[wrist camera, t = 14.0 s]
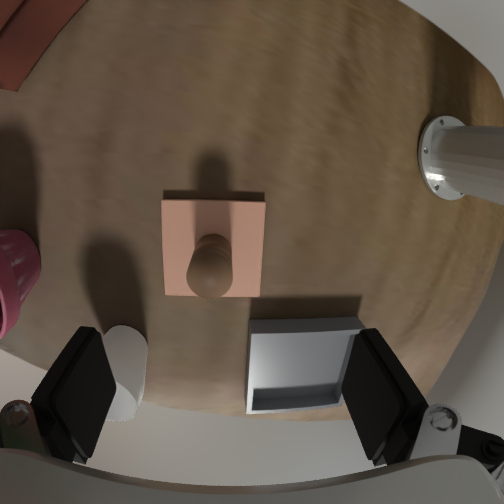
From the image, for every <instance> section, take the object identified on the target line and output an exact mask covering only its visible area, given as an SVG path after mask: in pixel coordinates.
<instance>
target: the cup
mask: <svg viewBox="0 0 504 504" xmlns="http://www.w3.org/2000/svg"><path fill="white" fill-rule="evenodd" d="M102 341H103V344H104V348H105V351H106V354H107V358H108V361H109V364H110V367H111V370H112V373H113V377H114V379H115V382H116V393H115V396H114V398H113V401H112V403H111V406H110V409H109V411H108V414H107V416H106V419H105V420H109V421H115V422H124V421H128V420H130V419H132V418H133V417H134V416H135V415H136V413H137V411H138V408H139V405H140V402H141V400H142V397H143V393H144V381H145V370H146V360H147V350H148V346H147V342H146V340H145V338H144V337H143V336H142V334H141V333H139V332H138V331H137V330H135V329H134V328H131V327H129V326H125V325H118V326H114V327H112V328H111V329H110V330H109V331H108V332H107V333H106V334H105V335H104V336H103V337H102Z"/></svg>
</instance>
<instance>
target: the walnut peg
mask: <svg viewBox="0 0 504 504" xmlns="http://www.w3.org/2000/svg"><path fill="white" fill-rule="evenodd" d="M186 280H187V284H188V286H189V288H190V289H191V290H192V291H193V292H194V293H195V294H196V295H198V296H200V297H202V298H207V299H214V298H218V297H221V296H222V295H224V294H225V293H226V292H227V291H228V290H229V289H230V287H231V285H232V282H233V269H232V249H231V245H230V243H229V241H228V240H227V239H226V238H225V237H223V236H221V235H219V234H207V235H205V236H203V237H202V238H200V239H199V241H198V242H197V244H196V246H195V249H194V252H193V255H192V258H191V261H190V264H189V266H188V269H187V273H186Z"/></svg>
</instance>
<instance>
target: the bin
mask: <svg viewBox="0 0 504 504" xmlns="http://www.w3.org/2000/svg"><path fill="white" fill-rule="evenodd" d="M362 329H366V328H365V326H364V325H363V324H362V322H361V321H360V320H359V318H358V317H357V316H353V317H334V318H310V319H249V334H248V351H247V369H246V386H245V406H246V414H260V413H279V412H292V411H303V410H313V409H322V408H330V407H337V406H342V403H343V400H344V398H343V395H342V391H341V386H342V382H343V379H344V375H345V372H346V368H347V365H348V361H349V357H350V353H351V349H352V346H353V342H354V337H355V335H356V334H358V333H359V332H360V330H362Z"/></svg>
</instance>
